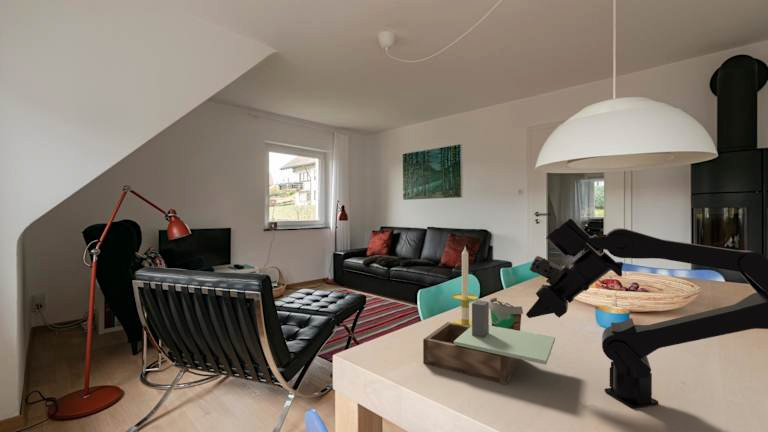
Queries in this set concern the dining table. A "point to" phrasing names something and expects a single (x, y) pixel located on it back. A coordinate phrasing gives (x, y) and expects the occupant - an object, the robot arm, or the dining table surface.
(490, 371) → the walnut box
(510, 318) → the food container
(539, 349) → the lid
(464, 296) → the candle
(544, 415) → the dining table surface
